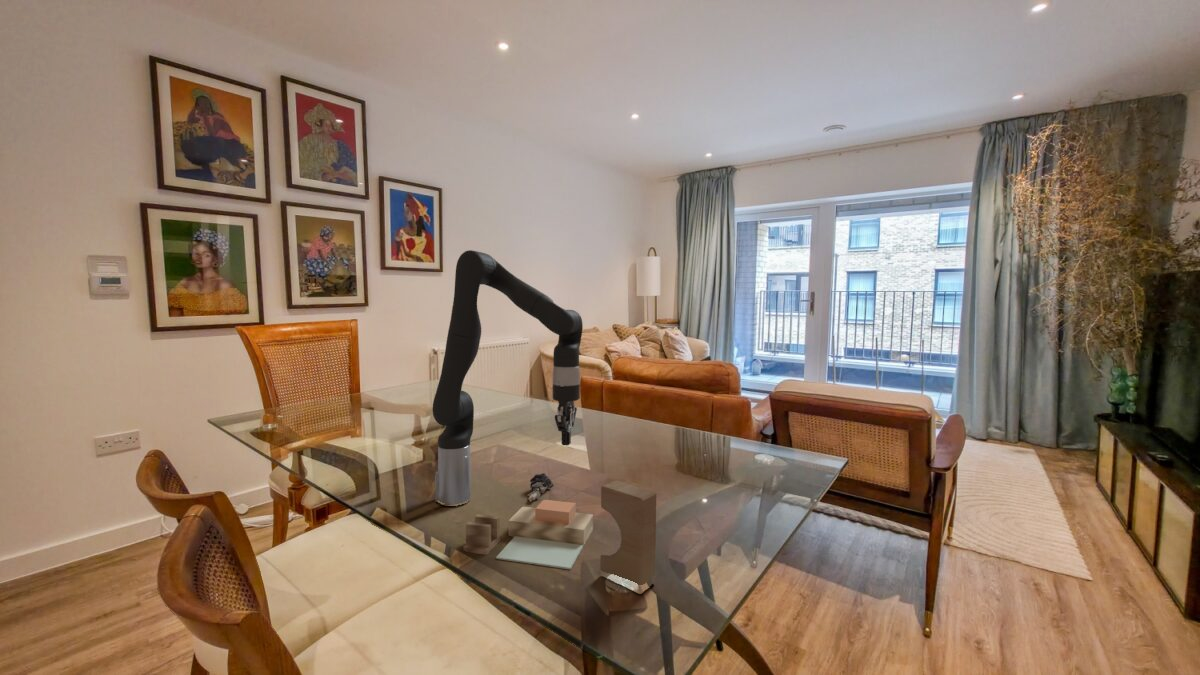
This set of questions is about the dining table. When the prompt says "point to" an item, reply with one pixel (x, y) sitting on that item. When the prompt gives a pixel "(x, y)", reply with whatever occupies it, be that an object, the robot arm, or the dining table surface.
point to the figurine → (539, 485)
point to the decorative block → (631, 531)
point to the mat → (541, 552)
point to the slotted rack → (482, 534)
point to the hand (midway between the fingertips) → (566, 444)
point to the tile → (555, 511)
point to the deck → (551, 527)
